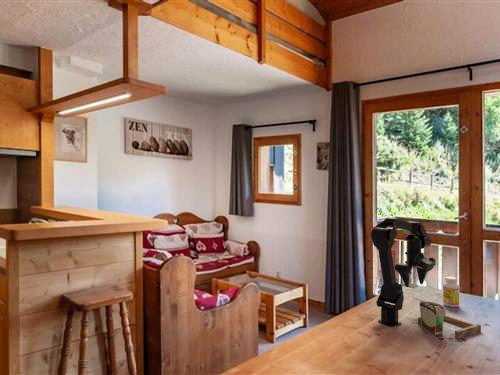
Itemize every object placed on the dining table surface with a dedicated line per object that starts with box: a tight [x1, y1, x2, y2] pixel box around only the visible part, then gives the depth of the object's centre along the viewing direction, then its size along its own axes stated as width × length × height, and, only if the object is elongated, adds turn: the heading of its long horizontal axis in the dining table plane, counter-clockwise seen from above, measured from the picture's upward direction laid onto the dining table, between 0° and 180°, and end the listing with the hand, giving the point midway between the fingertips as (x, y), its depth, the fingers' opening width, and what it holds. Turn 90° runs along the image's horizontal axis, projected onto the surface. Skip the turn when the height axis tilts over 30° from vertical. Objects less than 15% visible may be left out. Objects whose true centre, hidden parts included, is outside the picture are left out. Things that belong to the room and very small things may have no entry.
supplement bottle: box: [442, 276, 460, 308], centre depth 173 cm, size 7×7×13 cm
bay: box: [417, 314, 482, 339], centre depth 146 cm, size 14×17×2 cm
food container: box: [418, 300, 447, 337], centre depth 142 cm, size 12×6×10 cm, turn 5°
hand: (414, 285), depth 163 cm, fingers open, 9 cm apart
